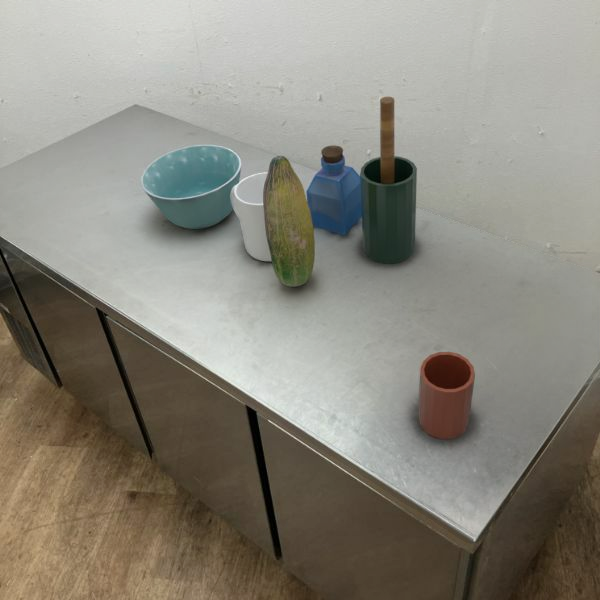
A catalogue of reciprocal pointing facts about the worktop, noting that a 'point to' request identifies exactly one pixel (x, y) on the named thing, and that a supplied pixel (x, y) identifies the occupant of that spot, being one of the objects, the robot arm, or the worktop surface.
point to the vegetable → (288, 224)
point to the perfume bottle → (335, 193)
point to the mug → (252, 214)
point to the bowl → (193, 184)
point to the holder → (445, 394)
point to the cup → (388, 211)
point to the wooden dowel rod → (387, 140)
